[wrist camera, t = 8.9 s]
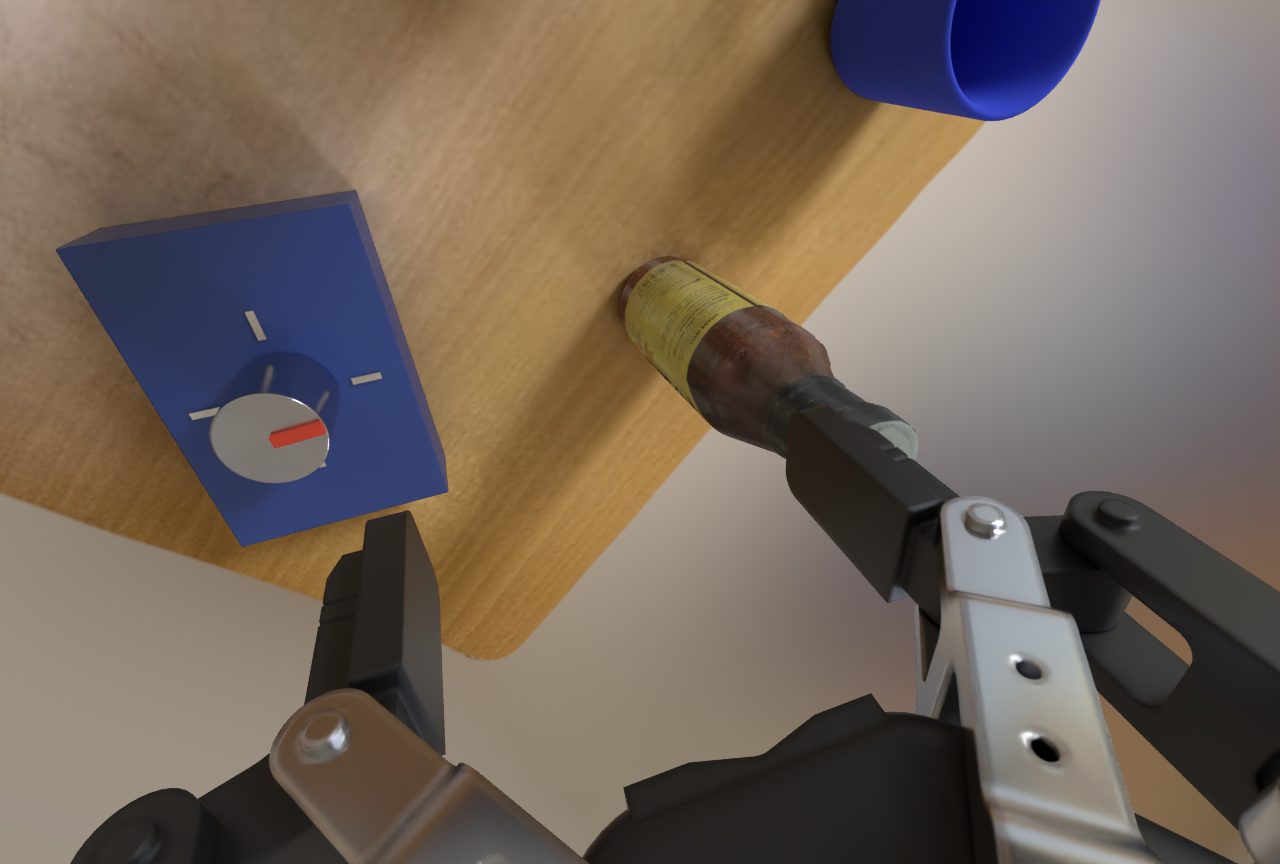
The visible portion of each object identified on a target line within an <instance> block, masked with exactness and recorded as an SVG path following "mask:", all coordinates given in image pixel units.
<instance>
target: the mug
mask: <svg viewBox="0 0 1280 864" xmlns="http://www.w3.org/2000/svg"><path fill="white" fill-rule="evenodd" d="M1099 4H1100V0H839V1H838V3H837V6H836V9H835V13H834V16H833V21H832V27H831V53H832V59H833V62H834V66H835V68H836V71H837V73H838V75H839V77H840V78H841V80H842V81H843V83H844V84H845V85H846V86H847V87H848V88H849V89H850V90H851V91H853V92H854V93H855V94H857V95H859V96H861V97H863V98H866V99H869V100H873V101H878V102H883V103H889V104H894V105H900V106H906V107H911V108H917V109H922V110H928V111H933V112H939V113H944V114H950V115H956V116H961V117H967V118H972V119H978V120H983V121H1000V120H1004V119H1008V118H1012V117H1014V116H1017V115H1019V114H1021V113H1023V112H1025V111H1027V110H1028V109H1030V108H1031V107H1033V106H1034V105H1036V104H1037V103H1039V102H1040V101H1041V100H1042V99H1043V98H1044V97H1046V96H1047V94H1049V93H1050V92H1051V91H1052V90H1053V89H1054V88H1055V86H1056V85H1057V84H1058V83H1059V82H1060V81H1061V79H1062V78H1063V77H1064V76H1065V74H1066V73H1067V72H1068V70H1069V69H1070V67H1071V66H1072V64H1073V63H1074V61H1075V59H1076V58H1077V56H1078V54H1079V52H1080V51H1081V49H1082V47H1083V45H1084V43H1085V41H1086V39H1087V37H1088V35H1089V32H1090V30H1091V28H1092V25H1093V22H1094V19H1095V16H1096V14H1097V10H1098V7H1099Z"/></svg>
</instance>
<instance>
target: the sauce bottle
mask: <svg viewBox="0 0 1280 864" xmlns="http://www.w3.org/2000/svg"><path fill="white" fill-rule="evenodd" d="M619 314H620V319H621V322H622V325H623V327H624V328H625V330H626V333H627V335H628V337H629V338H630V340H631V342H632V344H633V345H634V347H635V348H636V349H637V350H638V351H639V352H640V353H641V354H642V355H643V356H644V357H645V358H646V359H647V360H648V361H649V362H650V363H651V364H652V365H653V366H654V367H655V368H656V369H657V370H658V371H659V372H660V373H661V375H662V376H663V377H664V378H665V379H666V380H667V381H668V382H669V383H670V384H671V385H672V386H673V387H674V388H675V389H676V390H677V391H678V392H679V393H680V394H681V396H682V397H683V398H684V399H686V400H687V401H688V402H689V403H690V404H691V406H692V407H693V408H694V409H695V410H696V411H697V412H698V413H699V414H700V415H701V416H702V417H703V418H704V419H705V420H706V421H707V422H708V423H709V424H710V425H711V426H712V427H713V428H715V429H716V430H717V431H719V432H720V433H722V434H724V435H726V436H729V437H732V438H734V439H738V440H741V441H743V442H746V443H749V444H752V445H755V446H758V447H760V448H763V449H766V450H769V451H772V452H775V453H777V454H778V455H780V456H781V457H783V458H785V459H787V444H788V429H789V420H790V417H791V415H792V414H793V413H796V412H799V411H803V410H807V409H811V408H815V407H819V406H823V405H828V406H830V407H831V408H833V409H834V410H835V411H836V412H837V413H839V414H840V415H841V416H842V417H844V418H845V419H846V420H847V421H848V422H852V421H855V422H857V423H860V424H862V425H864V426H867V427H869V428H872V429H874V430H876V431H878V432H879V433H880V434H882V435H883V436H884V437H885V438H887V439H888V440H889V441H890V442H892V443H893V444H894V447H898V448H899V449H901V450H902V451H903V452H904V453H906V454H907V455H908V458H909V459H910V458H912V459H913V460H914V461H916V458H917V454H918V440H917V437H916V432H915V430H914V429H913V428H912V427H911V426H910V425H909V424H908V423H907V422H906V421H904V420H903V419H901V418H900V417H899V416H897V415H896V414H894V413H893V412H891V411H890V410H889V409H887V408H885V407H883V406H880V405H875V404H872V403H868V402H866V401H864V400H863V399H862V398H860V397H859V396H857V395H855V394H854V393H852V392H850V391H849V390H848V389H846V388H845V386H844V385H843V384H842V383H841V382H839V381H838V380H837V379H836V378H834V376H833V374H832V372H831V369H830V361H829V358H828V354H827V351H826V349H825V347H824V345H823V344H821V343H820V342H819V341H818V340H817V339H816V338H815V336H813V335H812V334H811V333H809V332H808V331H807V330H805V329H803V328H802V327H801V326H799V325H797V324H795V323H794V322H791V321H790V320H788V319H787V318H786V317H785V316H784V315H783V314H782V313H781V312H779V311H778V310H776V309H774V308H773V307H771V306H769V305H768V304H766V303H764V302H762V301H761V300H759V299H757V298H755V297H754V296H752V295H750V294H748V293H746V292H745V291H743V290H741V289H740V288H738V287H736V286H735V285H733V284H731V283H729V282H728V281H726V280H724V279H722V278H720V277H719V276H717V275H715V274H713V273H712V272H710V271H708V270H706V269H705V268H703V267H701V266H699V265H698V264H696V263H694V262H691V261H687V260H683V259H678V258H676V257H671V256H668V257H661V258H657V259H655V260H651V261H650V262H649V263H647V264H645V265H644V266H642V267H640V268H639V269H638V270H636V271H635V272H634V273H633V274H632V275H631V277H630V278H629V280H628V281H627V282H626V285H625V287H624V290H623V291H622V294H621V300H620V303H619Z"/></svg>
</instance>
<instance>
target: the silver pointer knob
mask: <svg viewBox="0 0 1280 864" xmlns="http://www.w3.org/2000/svg"><path fill="white" fill-rule="evenodd" d="M339 402H340V395H339V390H338V386H337V384H336V382H335V380H334V379H333V377H332V376H331V374H330V373H329V372H328V371H327V370H326V369H325V368H324V367H322V366H321V365H320V364H318V363H316V362H315V361H313V360H311V359H309V358H306V357H303V356H300V355H296V354H290V353H273V354H268V355H264V356H261V357H259V358H257V359H254V360H253V361H251V362H250V363H248V364H247V365H246V366H245V367H244V368H243V369H242V371H241V372H240V374H239V375H238V377H237V379H236V380H235V382H234V384H233V385H232V387H231V389H230V391H229V392H228V394H227V396H226V397H225V399H224V401H223V403H222V404H221V406H220V408H219V409H218V411H217V413H216V415H215V416H214V418H213V420H212V422H211V425H210V431H209V436H210V443H211V446H212V448H213V451H214V452H215V454H216V456H217V457H218V458H219V460H220V461H221V462H222V463H223V464H224V465H225V466H226V467H228V468H229V469H230V470H231V471H233V472H235V473H236V474H238V475H240V476H243V477H245V478H248V479H251V480H254V481H258V482H264V483H285V482H291V481H295V480H298V479H301V478H303V477H305V476H307V475H309V474H311V473H312V472H314V471H315V470H316V469H317V468H319V467H320V465H321V464H322V463H323V462H324V460H325V459H326V457H327V455H328V452H329V448H330V444H331V439H332V435H333V430H334V426H335V421H336V416H337V412H338V407H339Z"/></svg>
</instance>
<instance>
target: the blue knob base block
mask: <svg viewBox="0 0 1280 864" xmlns="http://www.w3.org/2000/svg"><path fill="white" fill-rule="evenodd" d="M56 252H57V253H58V255H59V256H60V258H61V260H62V261H63V263H64V264H65V266H66V268H67V269H68V271H69V272H70V274H71V275H72V277H73V279H74V280H75V282H76V283H77V285H78V287H79V288H80V290H81V291H82V293H83V295H84V296H85V298H86V299H87V301H88V303H89V304H90V306H91V307H92V309H93V311H94V312H95V314H96V315H97V317H98V319H99V320H100V322H101V323H102V325H103V326H104V328H105V330H106V331H107V333H108V334H109V336H110V338H111V339H112V341H113V342H114V344H115V346H116V347H117V349H118V350H119V352H120V354H121V355H122V357H123V358H124V360H125V362H126V363H127V365H128V366H129V368H130V370H131V371H132V373H133V374H134V376H135V377H136V379H137V381H138V382H139V384H140V385H141V387H142V389H143V390H144V392H145V393H146V395H147V397H148V398H149V400H150V401H151V403H152V405H153V406H154V408H155V409H156V411H157V413H158V414H159V416H160V417H161V419H162V421H163V422H164V424H165V425H166V427H167V428H168V430H169V432H170V433H171V435H172V436H173V438H174V440H175V441H176V443H177V444H178V446H179V448H180V449H181V451H182V452H183V454H184V456H185V457H186V459H187V460H188V462H189V464H190V465H191V467H192V468H193V470H194V471H195V473H196V475H197V476H198V478H199V479H200V481H201V483H202V484H203V486H204V487H205V489H206V491H207V492H208V494H209V495H210V497H211V499H212V500H213V502H214V503H215V505H216V507H217V508H218V510H219V511H220V513H221V515H222V516H223V518H224V519H225V521H226V522H227V524H228V526H229V527H230V529H231V530H232V532H233V534H234V535H235V537H236V538H237V540H238V542H239V543H240V545H241V546H242V547H244V546H248V545H251V544H255V543H259V542H263V541H266V540H270V539H274V538H277V537H281V536H285V535H289V534H292V533H296V532H300V531H304V530H307V529H311V528H315V527H319V526H322V525H326V524H330V523H334V522H337V521H341V520H345V519H349V518H352V517H356V516H360V515H364V514H367V513H371V512H375V511H379V510H382V509H386V508H390V507H394V506H397V505H401V504H405V503H408V502H412V501H416V500H420V499H423V498H427V497H431V496H435V495H438V494H442V493H446V492H448V482H447V471H446V460H445V454H444V451H443V448H442V445H441V442H440V439H439V436H438V433H437V430H436V427H435V424H434V421H433V418H432V416H431V413H430V410H429V407H428V404H427V401H426V398H425V395H424V392H423V389H422V386H421V383H420V380H419V377H418V374H417V371H416V368H415V365H414V362H413V359H412V356H411V353H410V350H409V347H408V344H407V341H406V338H405V335H404V332H403V329H402V326H401V323H400V320H399V317H398V314H397V311H396V308H395V305H394V302H393V299H392V296H391V293H390V290H389V287H388V284H387V281H386V278H385V275H384V272H383V269H382V266H381V263H380V260H379V258H378V255H377V252H376V249H375V246H374V243H373V240H372V237H371V234H370V231H369V228H368V225H367V222H366V219H365V216H364V213H363V210H362V207H361V204H360V201H359V198H358V195H357V192H356V190H352V191H346V192H339V193H332V194H326V195H319V196H313V197H306V198H299V199H293V200H286V201H279V202H273V203H266V204H259V205H253V206H246V207H239V208H233V209H226V210H219V211H213V212H206V213H199V214H193V215H186V216H179V217H173V218H166V219H159V220H153V221H146V222H139V223H133V224H126V225H120V226H113V227H106V228H100V229H97V230H95V231H93V232H91V233H89V234H87V235H84V236H82V237H80V238H78V239H76V240H74V241H72V242H70V243H68V244H65V245H63V246H61V247H59V248H57V249H56ZM273 353H290V354H296V355H300V356H303V357H306V358H309V359H311V360H313V361H315V362H316V363H318V364H320V365H321V366H322V367H324V368H325V369H326V370H327V371H328V372H329V373H330V374H331V376H332V377H333V379H334V380H335V382H336V384H337V386H338V390H339V395H340V402H339V407H338V412H337V416H336V421H335V426H334V430H333V435H332V439H331V444H330V448H329V452H328V455H327V457H326V459H325V460H324V462H323V463H322V464H321V465H320V467H319V468H317V469H316V470H315V471H314V472H312V473H311V474H309V475H307V476H305V477H303V478H301V479H298V480H295V481H291V482H285V483H264V482H258V481H254V480H251V479H248V478H245V477H243V476H240V475H238V474H236V473H235V472H233V471H231V470H230V469H229V468H228V467H226V466H225V465H224V464H223V463H222V462H221V461H220V460H219V458H218V457H217V456H216V454H215V452H214V451H213V448H212V446H211V443H210V436H209V431H210V425H211V422H212V420H213V418H214V416H215V415H216V413H217V411H218V409H219V408H220V406H221V404H222V403H223V401H224V399H225V397H226V396H227V394H228V392H229V391H230V389H231V387H232V385H233V384H234V382H235V380H236V379H237V377H238V375H239V374H240V372H241V371H242V369H243V368H244V367H245V366H246V365H247V364H248V363H250V362H251V361H253V360H254V359H257V358H259V357H261V356H264V355H268V354H273Z"/></svg>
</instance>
